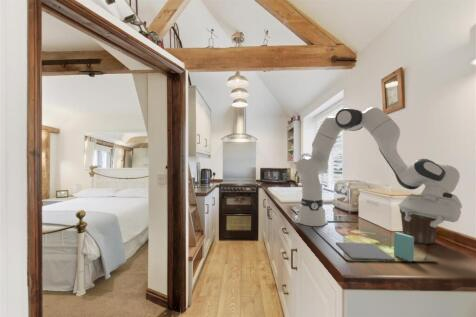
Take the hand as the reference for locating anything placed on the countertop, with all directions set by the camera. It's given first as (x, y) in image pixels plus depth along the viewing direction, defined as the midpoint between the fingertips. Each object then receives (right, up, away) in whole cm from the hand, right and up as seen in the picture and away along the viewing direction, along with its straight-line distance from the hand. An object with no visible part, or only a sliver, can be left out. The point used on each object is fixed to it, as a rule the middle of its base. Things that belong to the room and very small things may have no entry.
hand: (419, 223), depth 94 cm
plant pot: (+13, -13, +18) cm, 26 cm away
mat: (-22, -12, +2) cm, 25 cm away
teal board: (-9, -13, -4) cm, 16 cm away
